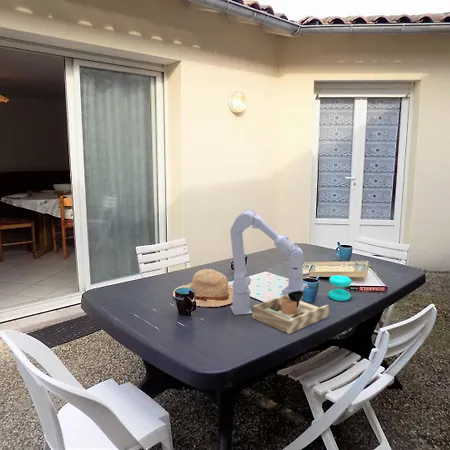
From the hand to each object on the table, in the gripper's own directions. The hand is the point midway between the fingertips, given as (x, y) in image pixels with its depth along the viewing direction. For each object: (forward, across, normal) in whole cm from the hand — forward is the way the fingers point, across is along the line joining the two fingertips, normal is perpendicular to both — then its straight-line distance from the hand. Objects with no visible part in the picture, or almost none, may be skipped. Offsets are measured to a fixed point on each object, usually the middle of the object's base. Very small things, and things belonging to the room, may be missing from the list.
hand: (294, 307), depth 164 cm
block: (+1, -4, 0) cm, 4 cm away
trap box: (+3, -3, 0) cm, 4 cm away
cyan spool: (+4, +32, 0) cm, 32 cm away
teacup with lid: (+4, +28, +19) cm, 35 cm away
